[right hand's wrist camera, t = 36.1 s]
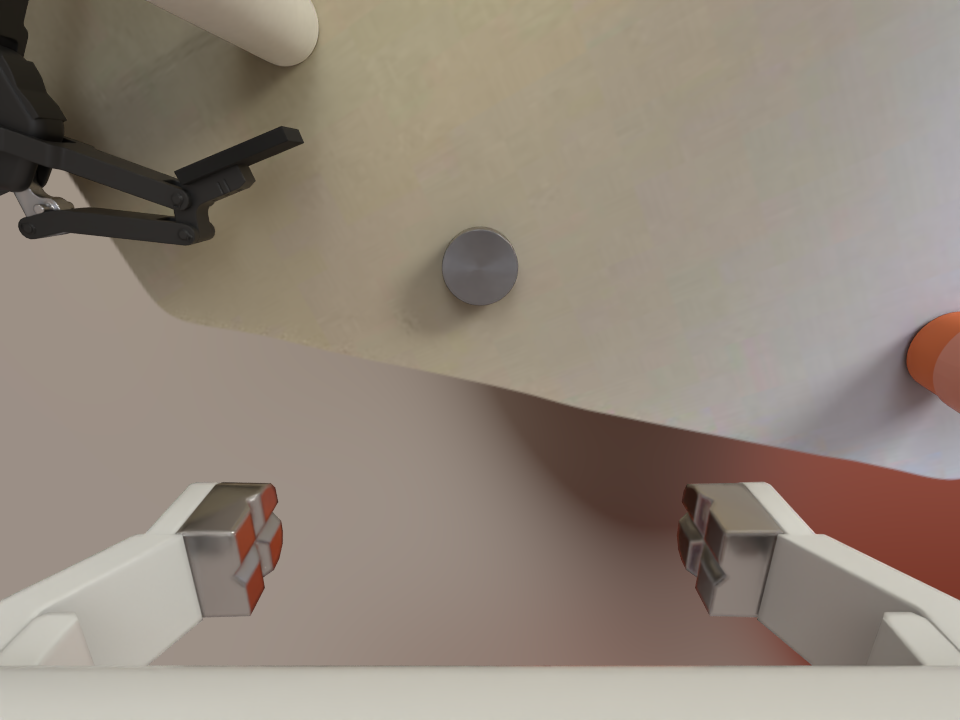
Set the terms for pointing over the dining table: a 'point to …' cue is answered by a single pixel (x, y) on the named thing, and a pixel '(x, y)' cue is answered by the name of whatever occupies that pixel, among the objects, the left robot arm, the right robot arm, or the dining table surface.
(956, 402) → the cup with straw
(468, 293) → the lid
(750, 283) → the dining table surface
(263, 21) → the white cylinder
